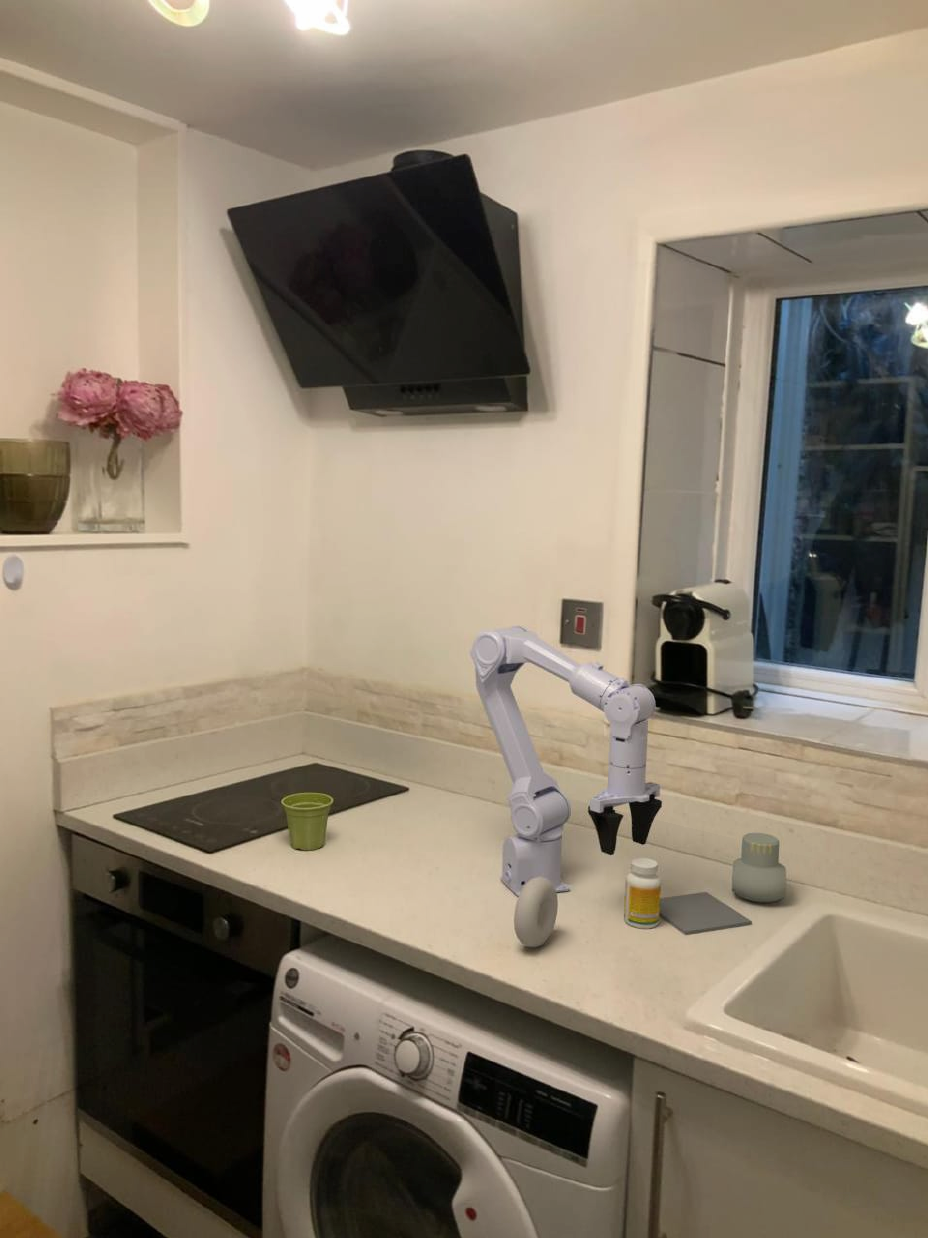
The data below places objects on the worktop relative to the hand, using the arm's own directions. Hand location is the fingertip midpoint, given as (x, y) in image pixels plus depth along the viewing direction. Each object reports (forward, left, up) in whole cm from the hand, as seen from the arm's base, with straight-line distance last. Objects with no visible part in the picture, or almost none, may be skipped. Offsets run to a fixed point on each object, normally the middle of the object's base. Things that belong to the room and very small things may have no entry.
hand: (623, 848), depth 152 cm
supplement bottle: (+1, -5, -11) cm, 12 cm away
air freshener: (+25, -2, -11) cm, 27 cm away
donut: (-18, -7, -11) cm, 22 cm away
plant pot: (-41, +43, -11) cm, 61 cm away
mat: (+11, -5, -10) cm, 16 cm away
